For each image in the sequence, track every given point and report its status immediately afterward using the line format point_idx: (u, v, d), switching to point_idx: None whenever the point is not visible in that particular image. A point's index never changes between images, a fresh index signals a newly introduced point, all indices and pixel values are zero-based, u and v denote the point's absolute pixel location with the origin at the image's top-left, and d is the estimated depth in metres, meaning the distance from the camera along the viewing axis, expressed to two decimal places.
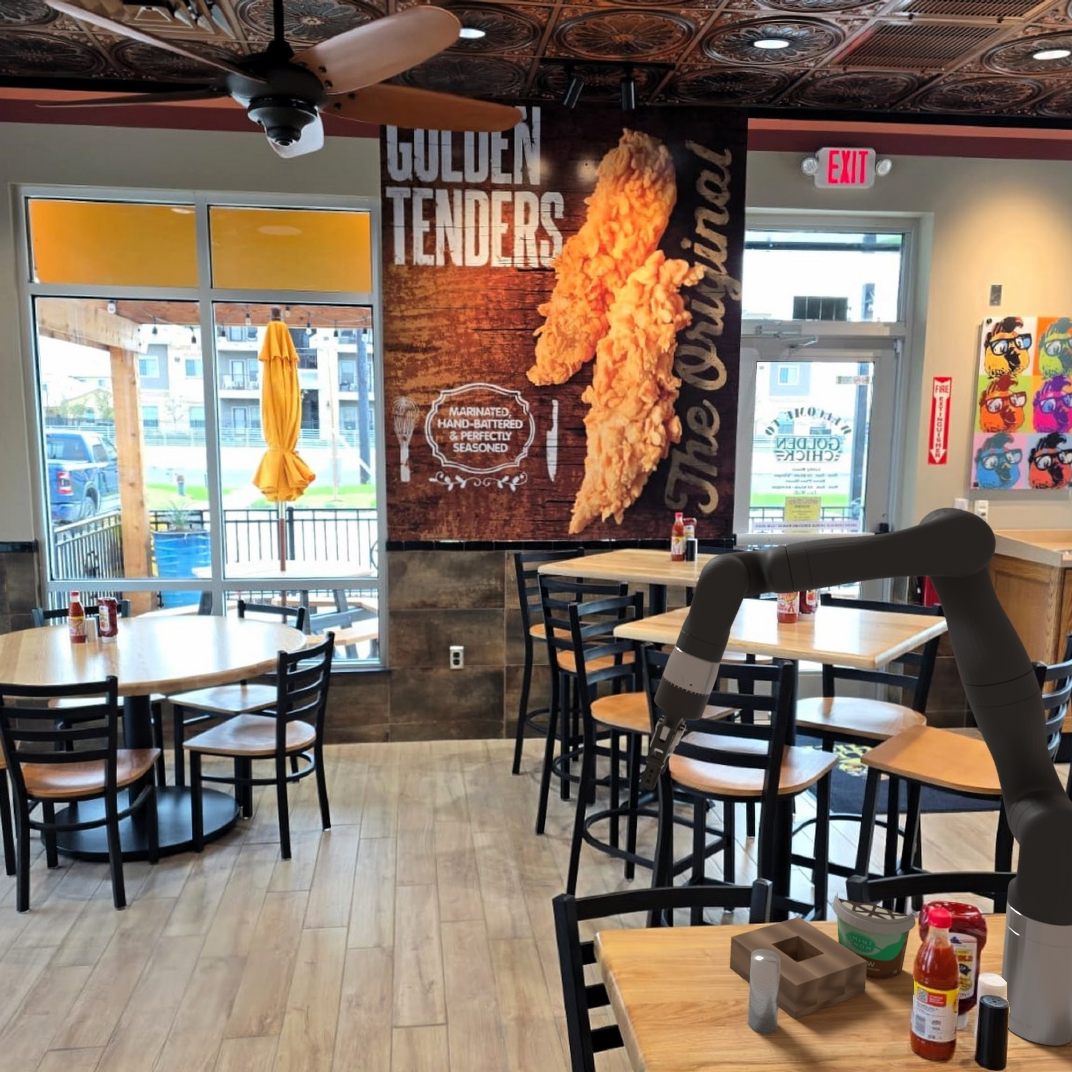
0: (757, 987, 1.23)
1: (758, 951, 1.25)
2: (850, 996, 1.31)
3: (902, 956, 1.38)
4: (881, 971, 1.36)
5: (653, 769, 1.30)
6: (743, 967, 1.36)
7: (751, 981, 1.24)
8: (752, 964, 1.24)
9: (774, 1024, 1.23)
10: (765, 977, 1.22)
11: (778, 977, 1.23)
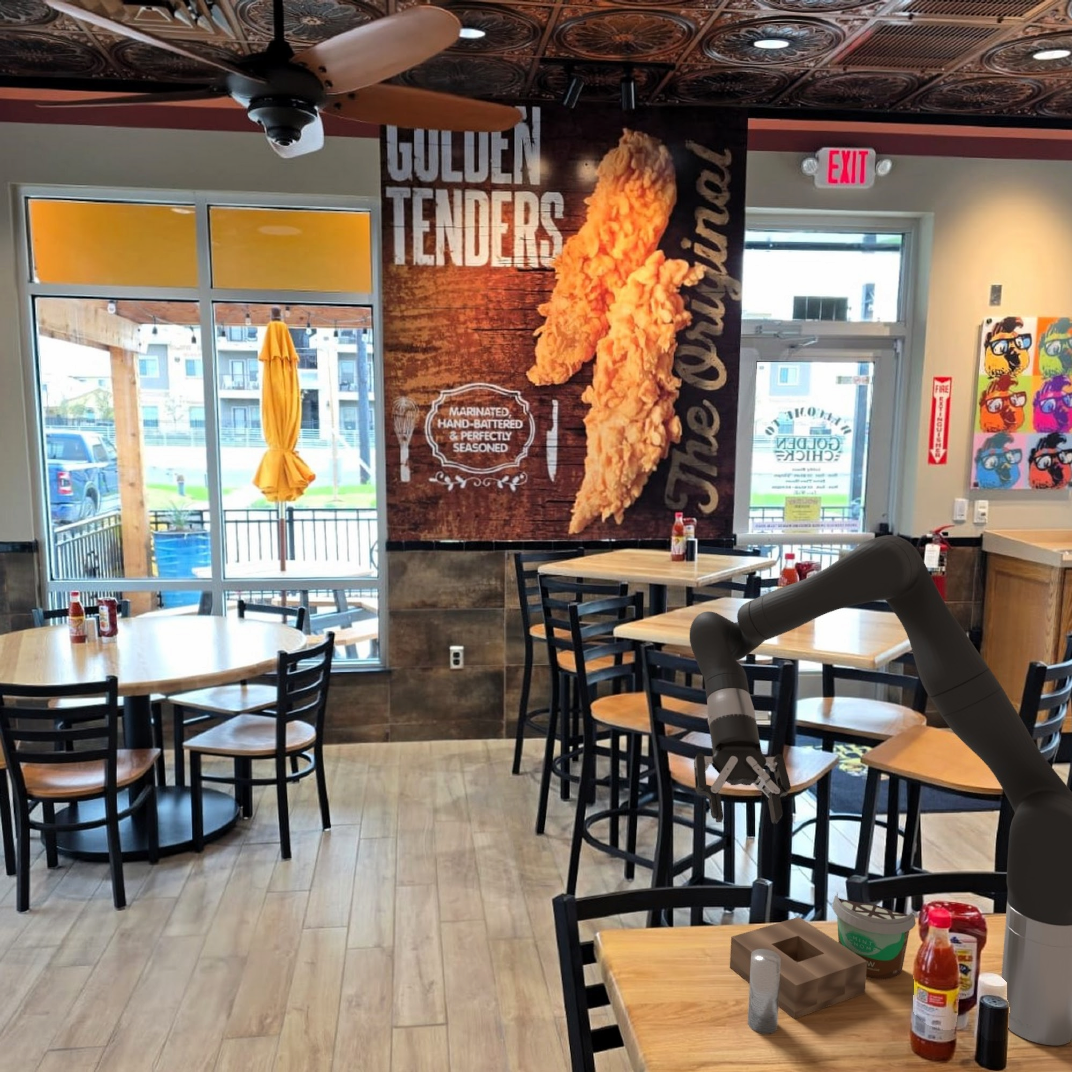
0: (756, 987, 1.23)
1: (758, 951, 1.25)
2: (850, 996, 1.31)
3: (902, 956, 1.38)
4: (881, 971, 1.36)
5: (710, 798, 1.36)
6: (743, 967, 1.36)
7: (751, 981, 1.24)
8: (752, 964, 1.24)
9: (774, 1024, 1.23)
10: (765, 977, 1.22)
11: (778, 977, 1.23)
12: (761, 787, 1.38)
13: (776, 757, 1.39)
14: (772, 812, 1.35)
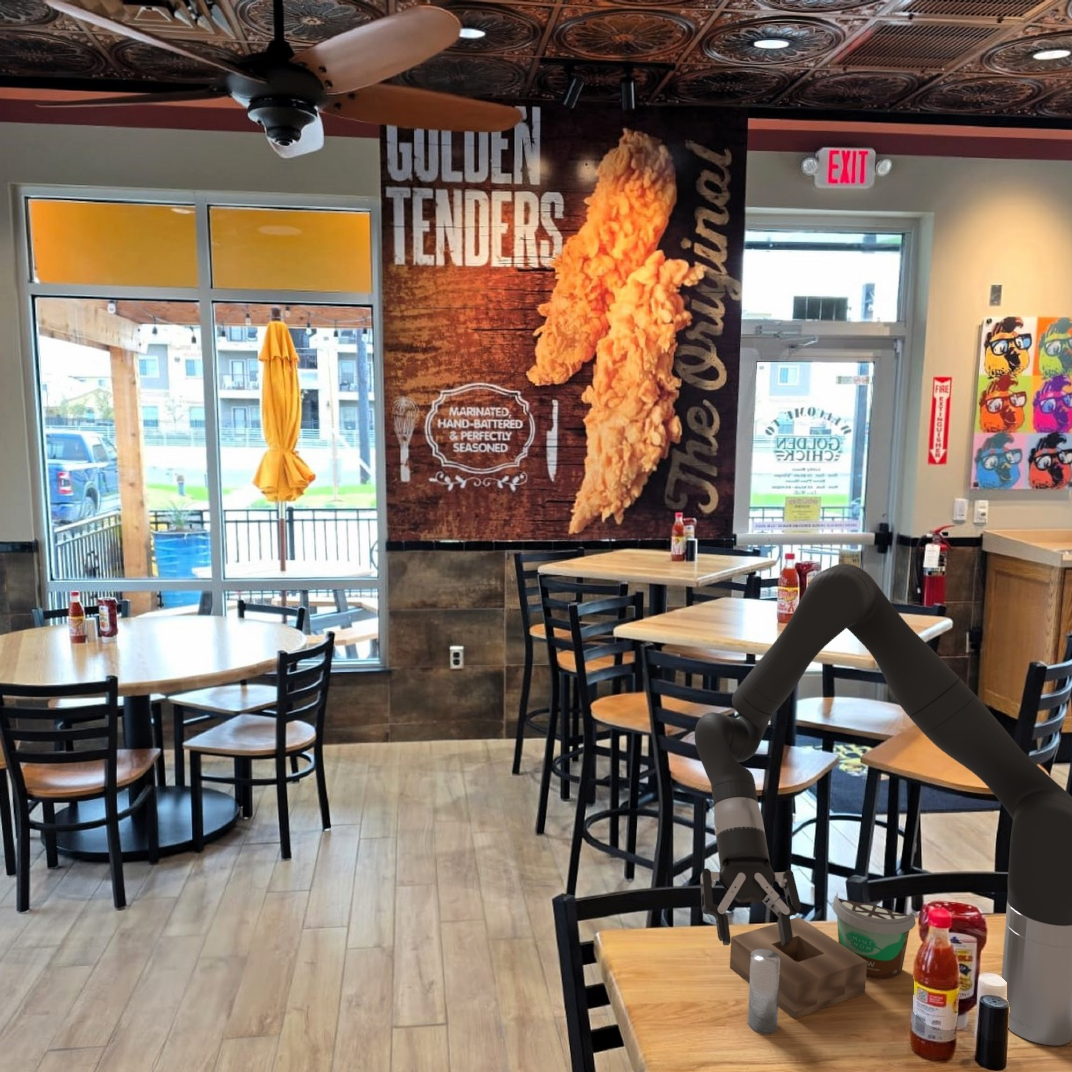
0: (756, 987, 1.23)
1: (758, 951, 1.25)
2: (850, 996, 1.31)
3: (902, 956, 1.38)
4: (881, 971, 1.36)
5: (717, 919, 1.31)
6: (743, 967, 1.36)
7: (751, 981, 1.24)
8: (752, 964, 1.24)
9: (774, 1024, 1.23)
10: (764, 977, 1.22)
11: (778, 977, 1.23)
12: (770, 905, 1.33)
13: (786, 873, 1.34)
14: (781, 934, 1.30)
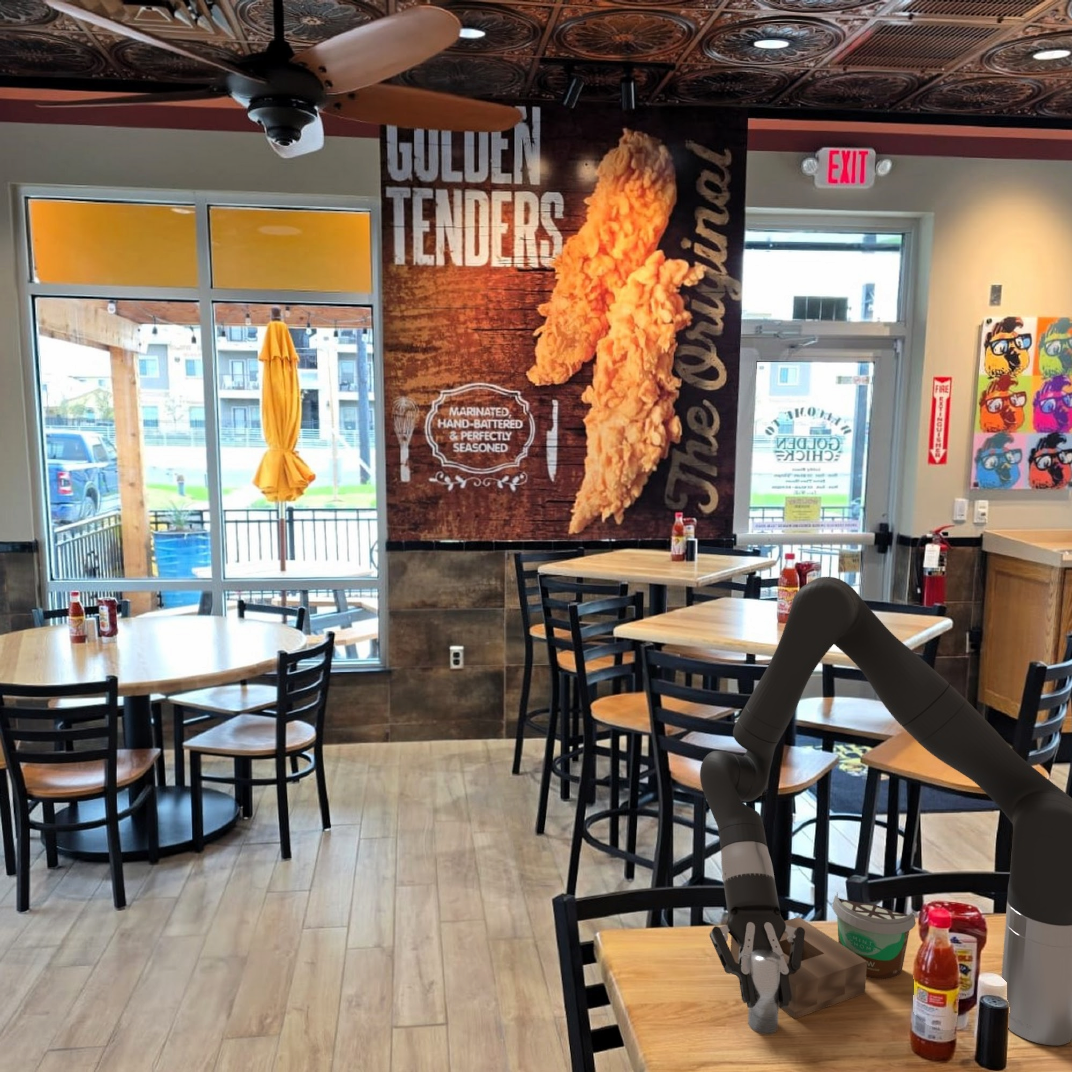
0: (757, 987, 1.23)
1: (758, 952, 1.25)
2: (850, 996, 1.31)
3: (902, 956, 1.38)
4: (881, 971, 1.36)
5: (741, 979, 1.25)
6: None
7: None
8: (752, 964, 1.24)
9: (774, 1024, 1.23)
10: (765, 977, 1.22)
11: (778, 977, 1.23)
12: None
13: (797, 929, 1.28)
14: (780, 995, 1.24)
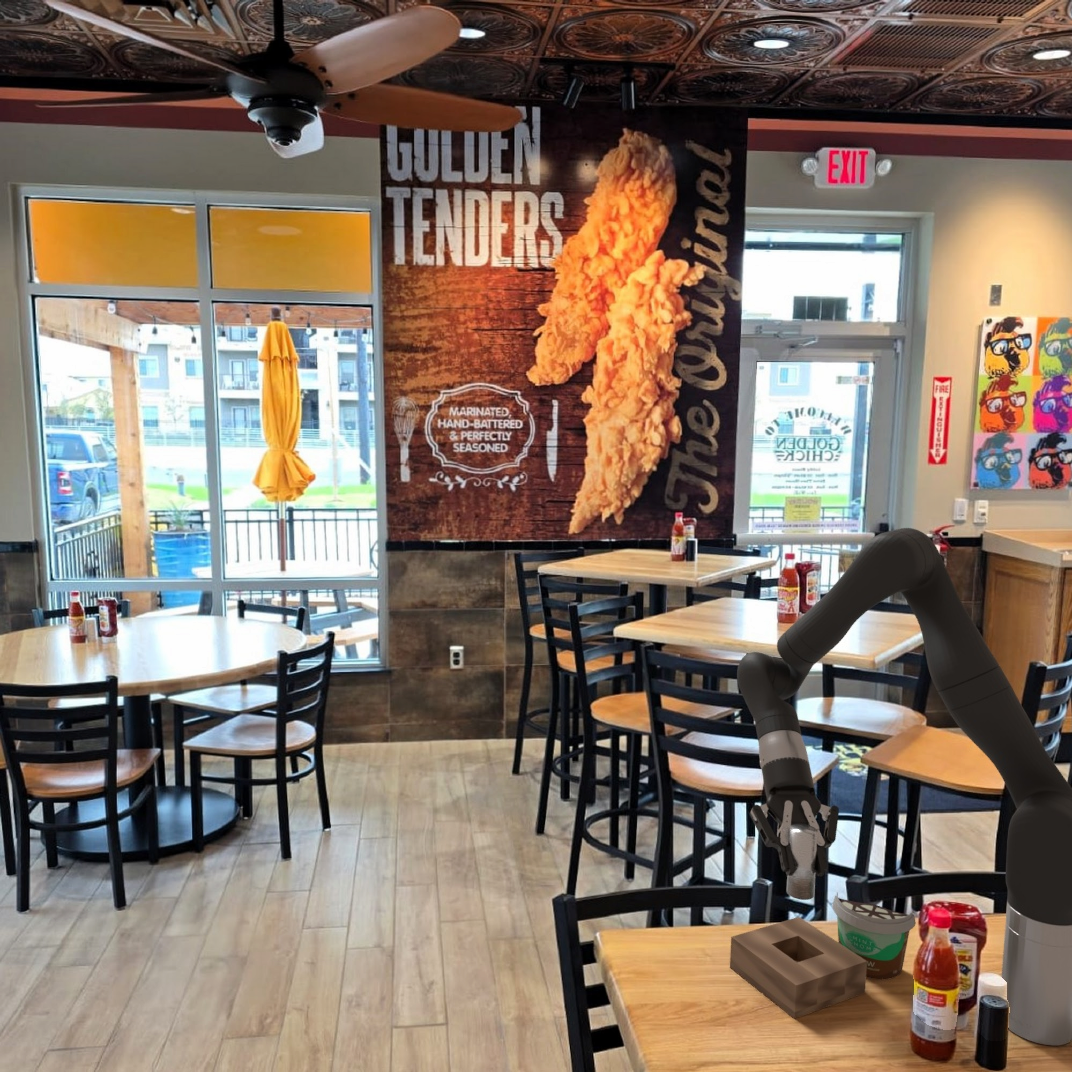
0: (795, 856, 1.32)
1: (796, 825, 1.35)
2: (850, 996, 1.31)
3: (902, 956, 1.38)
4: (881, 971, 1.36)
5: (780, 851, 1.34)
6: (743, 967, 1.36)
7: None
8: (791, 835, 1.33)
9: (811, 891, 1.33)
10: (803, 846, 1.32)
11: (815, 847, 1.32)
12: None
13: (832, 808, 1.38)
14: (817, 864, 1.33)
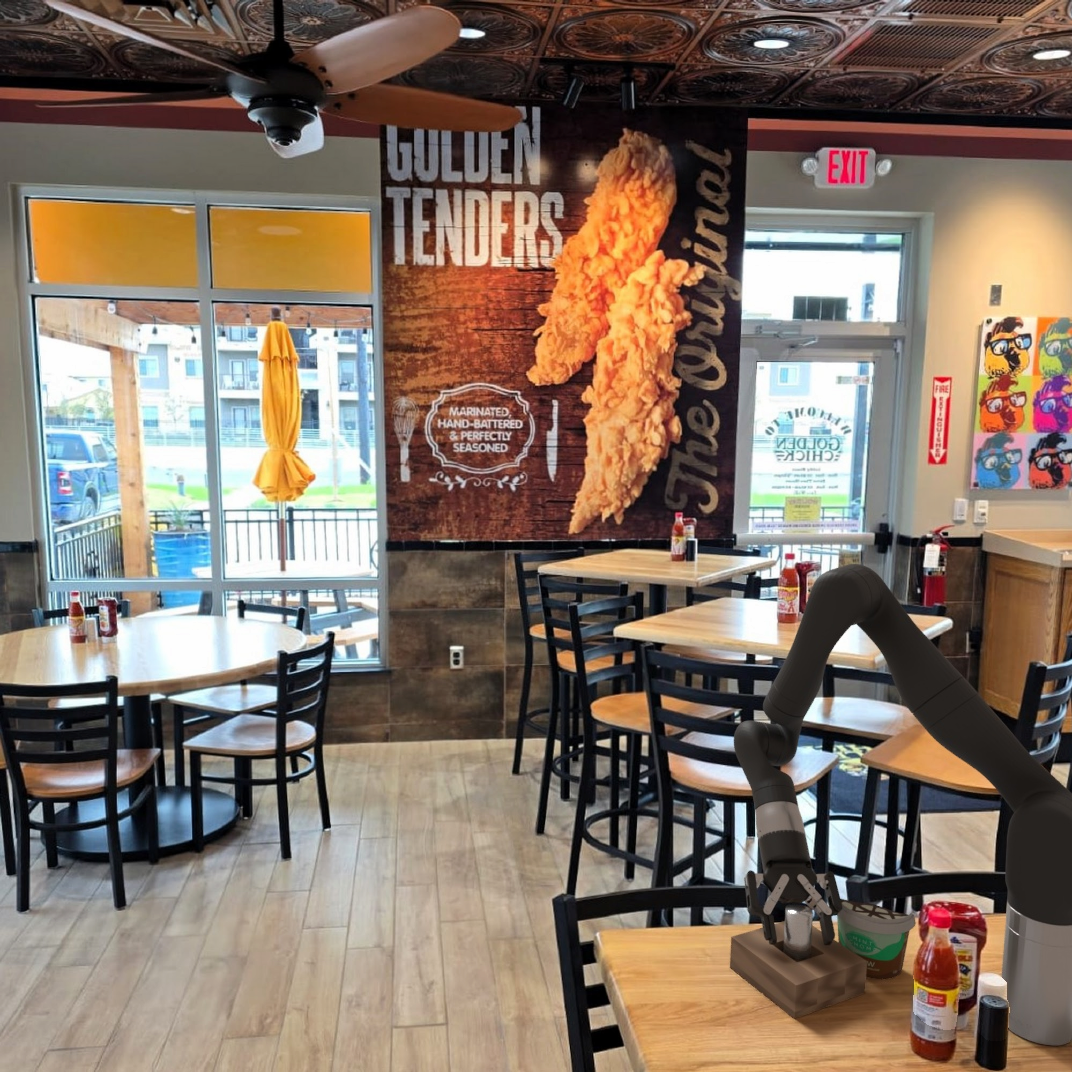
0: (791, 938, 1.34)
1: (792, 906, 1.36)
2: (850, 996, 1.31)
3: (902, 956, 1.38)
4: (881, 971, 1.36)
5: (763, 919, 1.36)
6: (743, 967, 1.36)
7: (785, 933, 1.35)
8: (786, 917, 1.34)
9: None
10: (798, 928, 1.33)
11: (810, 929, 1.34)
12: (812, 906, 1.38)
13: (827, 875, 1.39)
14: (824, 934, 1.35)
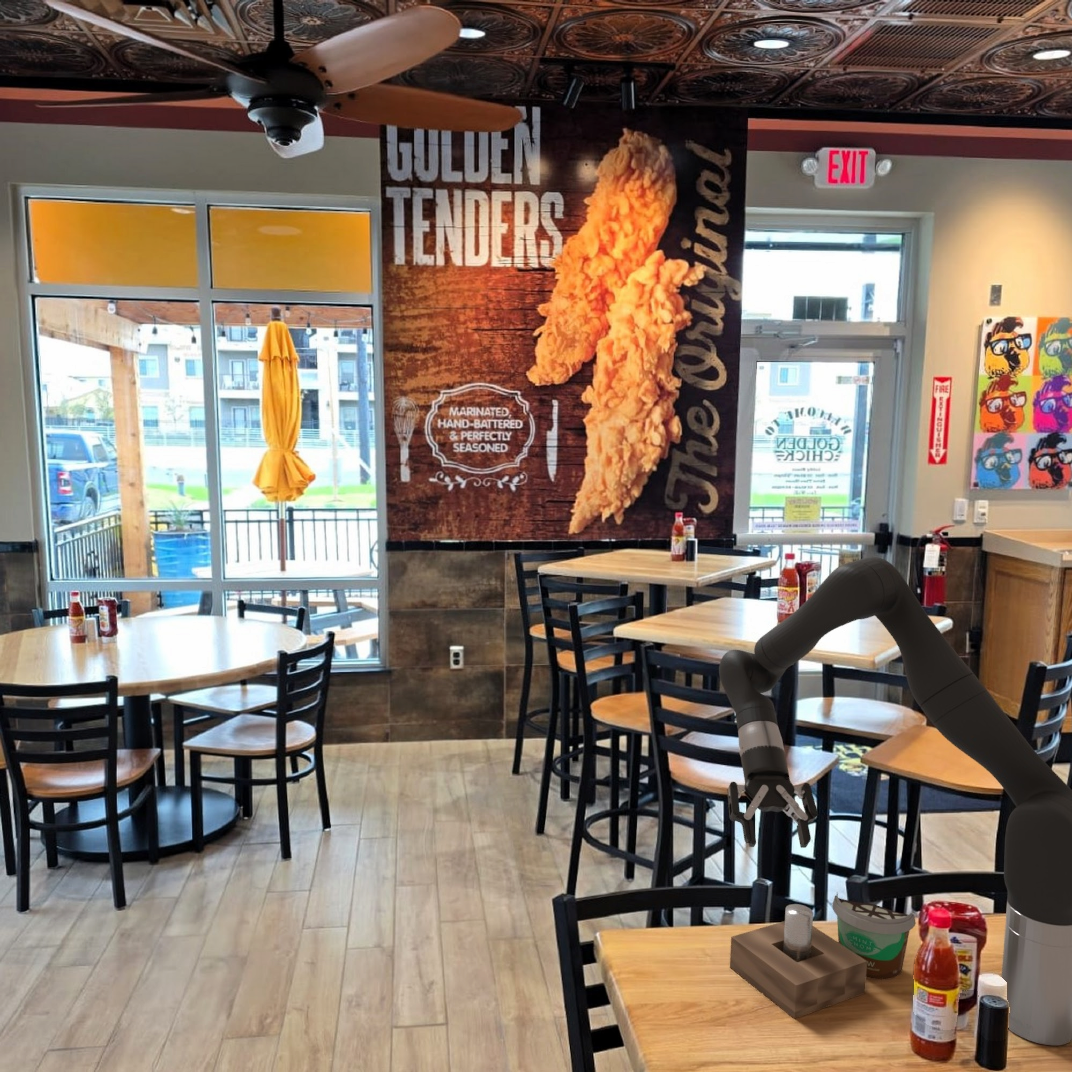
0: (791, 938, 1.34)
1: (792, 906, 1.36)
2: (850, 996, 1.31)
3: (902, 956, 1.38)
4: (881, 971, 1.36)
5: (743, 824, 1.47)
6: (743, 967, 1.36)
7: (786, 933, 1.35)
8: (787, 917, 1.34)
9: None
10: (799, 929, 1.33)
11: (811, 929, 1.34)
12: (790, 814, 1.49)
13: (804, 786, 1.51)
14: (801, 837, 1.46)
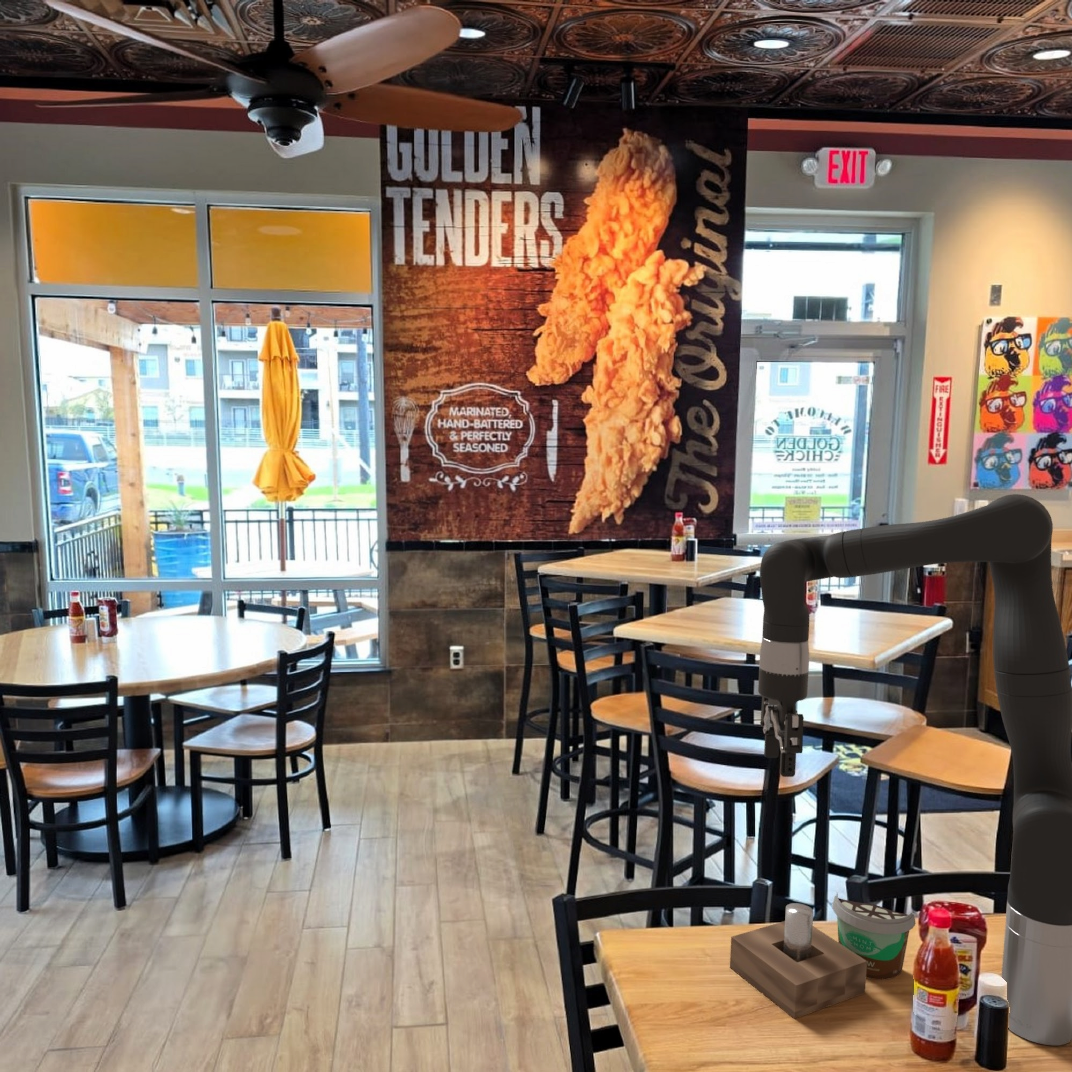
0: (791, 937, 1.34)
1: (792, 905, 1.36)
2: (850, 996, 1.31)
3: (902, 956, 1.38)
4: (881, 971, 1.36)
5: (791, 757, 1.37)
6: (743, 967, 1.36)
7: (786, 932, 1.35)
8: (787, 916, 1.35)
9: None
10: (799, 927, 1.33)
11: (811, 927, 1.34)
12: (770, 726, 1.45)
13: None
14: (772, 749, 1.46)
